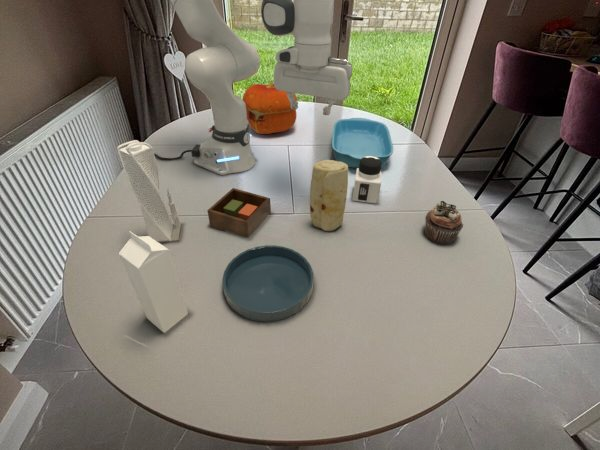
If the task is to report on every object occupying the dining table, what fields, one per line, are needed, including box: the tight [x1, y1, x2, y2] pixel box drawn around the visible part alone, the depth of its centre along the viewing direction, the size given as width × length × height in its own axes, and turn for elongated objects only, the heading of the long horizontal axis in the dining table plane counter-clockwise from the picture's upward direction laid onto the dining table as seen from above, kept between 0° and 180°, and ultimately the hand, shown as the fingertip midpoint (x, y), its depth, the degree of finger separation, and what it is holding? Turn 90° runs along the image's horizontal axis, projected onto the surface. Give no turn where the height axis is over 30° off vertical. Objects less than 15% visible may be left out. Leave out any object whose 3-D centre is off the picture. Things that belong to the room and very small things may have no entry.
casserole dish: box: [331, 117, 394, 169], centre depth 129 cm, size 37×22×7 cm, turn 174°
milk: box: [118, 230, 189, 334], centre depth 63 cm, size 6×6×22 cm
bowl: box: [221, 244, 315, 323], centre depth 76 cm, size 20×20×4 cm
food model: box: [309, 159, 349, 232], centre depth 88 cm, size 10×7×20 cm
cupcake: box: [424, 200, 464, 245], centre depth 89 cm, size 10×10×10 cm
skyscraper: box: [116, 139, 182, 244], centre depth 81 cm, size 8×8×28 cm
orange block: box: [238, 204, 258, 220], centre depth 93 cm, size 4×5×4 cm
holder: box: [207, 187, 272, 238], centre depth 94 cm, size 13×13×6 cm
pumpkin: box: [242, 81, 298, 135], centre depth 141 cm, size 23×23×20 cm
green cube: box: [223, 200, 243, 218], centre depth 95 cm, size 4×5×4 cm
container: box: [351, 156, 383, 204], centre depth 103 cm, size 8×8×13 cm
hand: (310, 111), depth 90 cm, fingers open, 8 cm apart
